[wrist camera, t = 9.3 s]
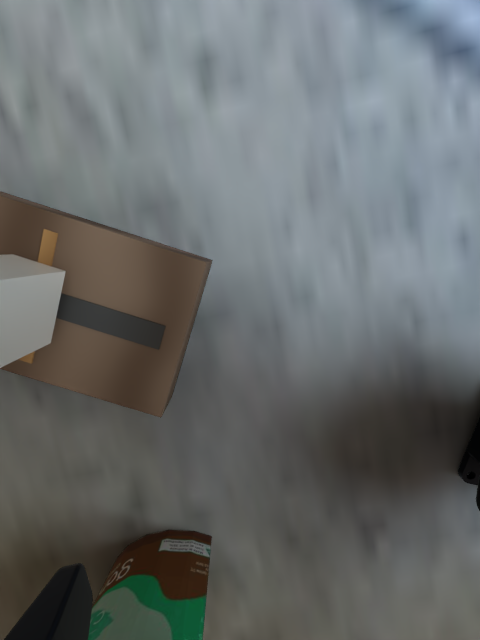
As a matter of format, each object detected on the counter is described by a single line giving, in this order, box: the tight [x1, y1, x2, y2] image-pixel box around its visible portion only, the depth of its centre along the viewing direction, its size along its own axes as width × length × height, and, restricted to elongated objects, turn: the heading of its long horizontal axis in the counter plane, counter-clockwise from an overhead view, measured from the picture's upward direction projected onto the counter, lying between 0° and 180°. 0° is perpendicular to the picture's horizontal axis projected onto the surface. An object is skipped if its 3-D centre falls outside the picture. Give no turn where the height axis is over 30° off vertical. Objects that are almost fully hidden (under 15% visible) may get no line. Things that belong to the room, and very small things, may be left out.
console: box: [0, 192, 212, 417], centre depth 17 cm, size 15×8×3 cm, turn 72°
